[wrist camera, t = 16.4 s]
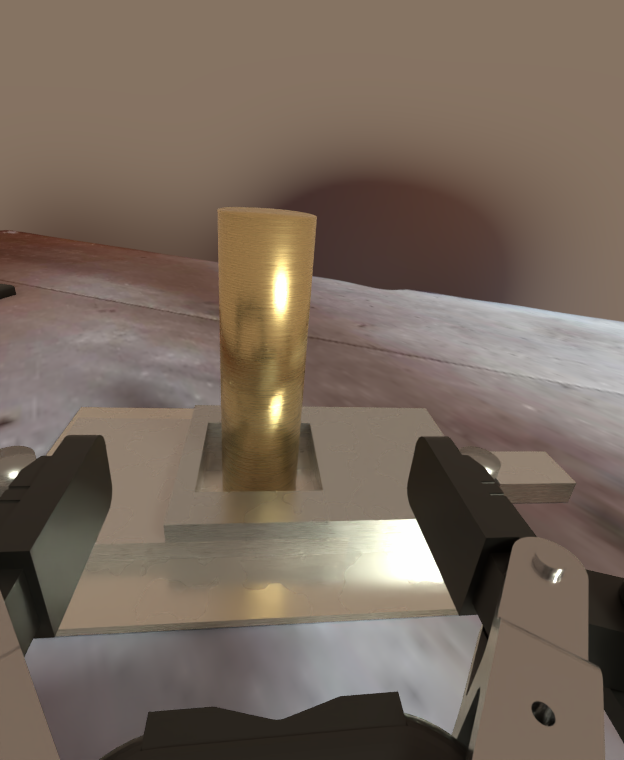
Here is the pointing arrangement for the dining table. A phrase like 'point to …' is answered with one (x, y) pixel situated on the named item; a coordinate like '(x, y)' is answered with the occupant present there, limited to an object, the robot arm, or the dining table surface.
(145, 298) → the dining table surface
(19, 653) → the robot arm
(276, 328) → the pin
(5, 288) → the multimeter
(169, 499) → the peg-in-hole plate
